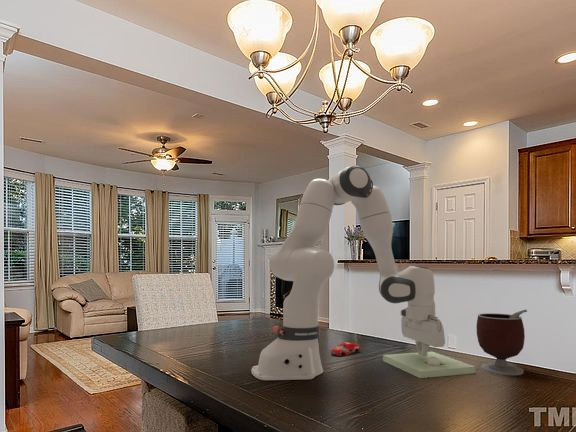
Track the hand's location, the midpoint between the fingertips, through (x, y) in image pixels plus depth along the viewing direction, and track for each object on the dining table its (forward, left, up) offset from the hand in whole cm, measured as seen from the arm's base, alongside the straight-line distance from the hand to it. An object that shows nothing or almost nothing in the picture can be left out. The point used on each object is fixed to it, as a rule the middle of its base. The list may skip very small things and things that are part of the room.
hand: (422, 355), depth 142 cm
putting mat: (0, -2, -3) cm, 4 cm away
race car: (-18, +23, -4) cm, 29 cm away
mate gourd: (+21, -13, -3) cm, 25 cm away
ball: (0, -6, -1) cm, 6 cm away
